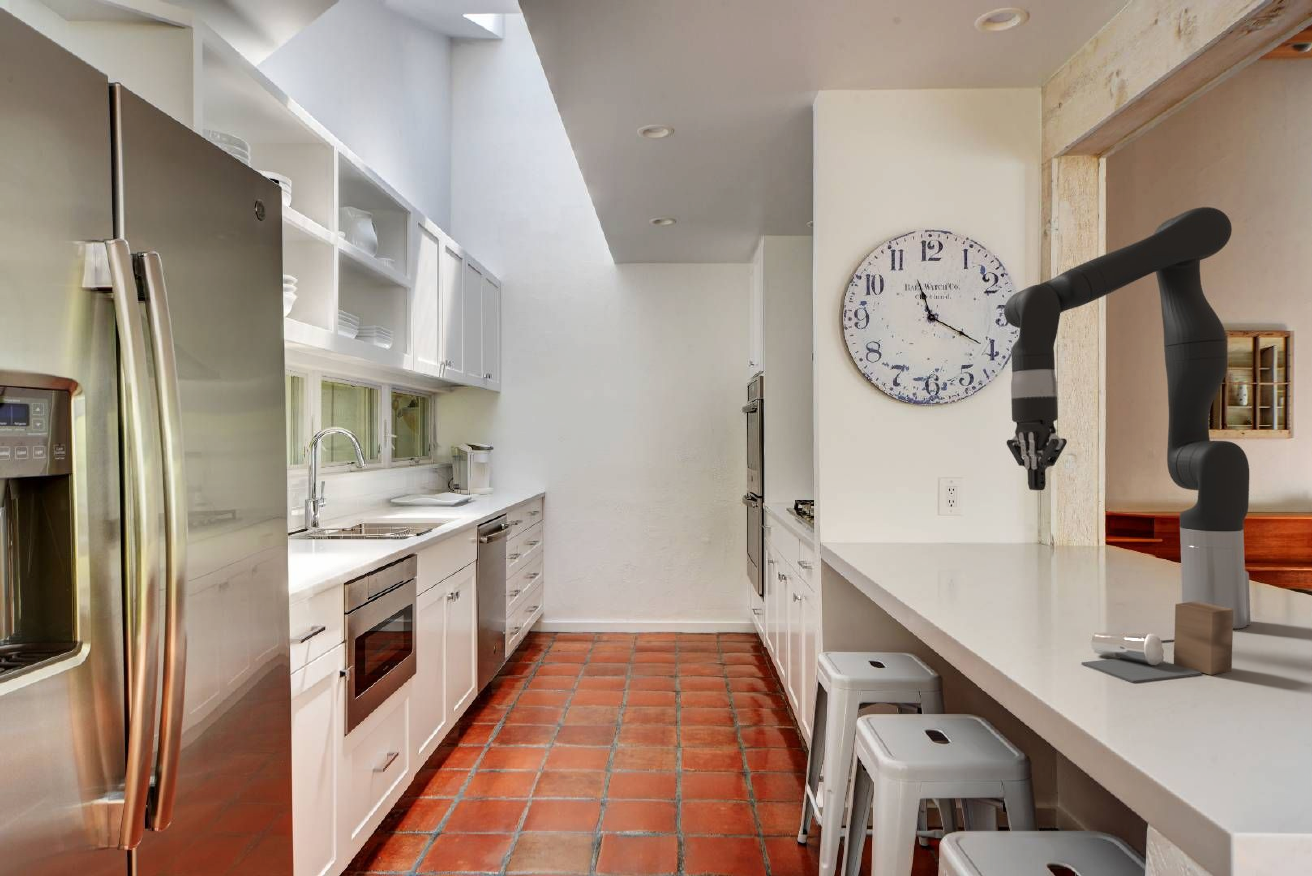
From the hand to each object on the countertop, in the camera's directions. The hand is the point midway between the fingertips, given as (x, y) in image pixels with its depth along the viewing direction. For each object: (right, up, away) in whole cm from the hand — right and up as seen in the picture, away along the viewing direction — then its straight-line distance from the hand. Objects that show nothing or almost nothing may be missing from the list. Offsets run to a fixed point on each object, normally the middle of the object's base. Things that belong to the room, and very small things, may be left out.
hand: (1036, 489), depth 133 cm
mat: (+1, -25, -26) cm, 36 cm away
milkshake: (0, -23, -18) cm, 29 cm away
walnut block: (+10, -24, -27) cm, 37 cm away
